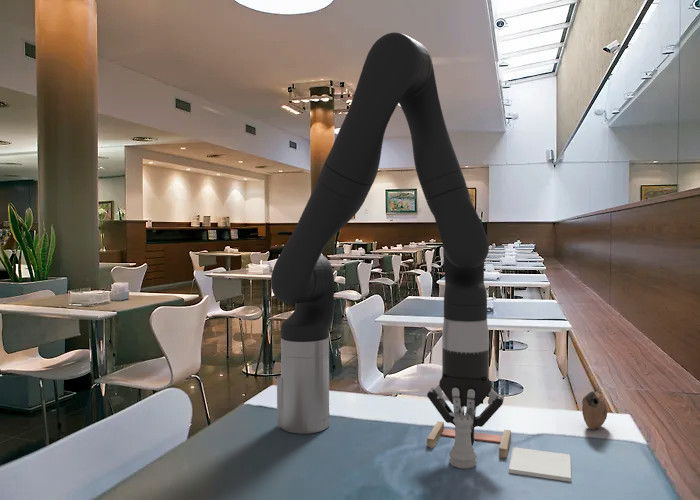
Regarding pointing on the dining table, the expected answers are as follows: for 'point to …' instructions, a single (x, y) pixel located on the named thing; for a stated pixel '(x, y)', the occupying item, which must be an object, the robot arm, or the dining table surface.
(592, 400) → the oil lamp
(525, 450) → the tile
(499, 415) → the dining table surface
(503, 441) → the wooden u-shaped frame
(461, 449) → the rook chess piece
